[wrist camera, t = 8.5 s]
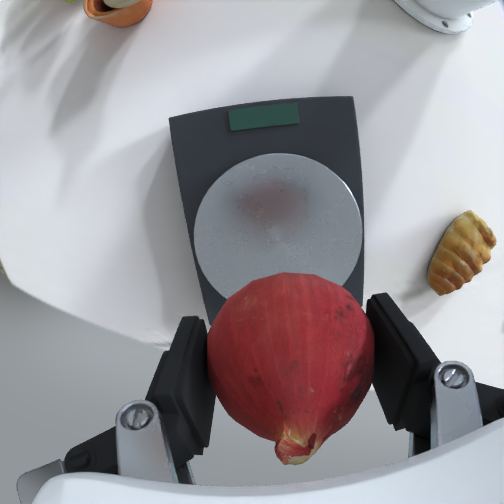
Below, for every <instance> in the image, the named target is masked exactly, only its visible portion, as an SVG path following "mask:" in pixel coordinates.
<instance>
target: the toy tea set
mask: <svg viewBox="0 0 504 504" xmlns="http://www.w3.org/2000/svg"><path fill="white" fill-rule="evenodd" d="M66 1H68V2H73V1H75V0H66ZM151 5H152V0H85V1H84V11H85V13H86V15H87V16H88V17H90V18H92V19H95V20H98V21H101V22H104V23H107V24H110V25H113V26H116V27H128V26H131V25H134V24H136V23H137V22H139V21H140V20H141V19H143V18H144V17H145V16H146V15H147V13H148V12H149V10H150V8H151Z"/></svg>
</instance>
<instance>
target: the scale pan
mask: <svg viewBox="0 0 504 504" xmlns="http://www.w3.org/2000/svg"><path fill="white" fill-rule="evenodd" d="M361 244H362V220H361V216H360V211H359V208H358V206H357V203H356V200H355V199H354V197H353V195H352V193H351V191H350V190H349V188H348V187H347V186H346V184H345V183H344V182H343V181H342V180H341V179H340V178H339V177H338V176H337V175H336V174H335V173H334V172H333V171H331V170H330V169H329V168H327V167H326V166H324V165H322V164H320V163H319V162H317V161H315V160H312V159H309V158H307V157H303V156H299V155H295V154H287V153H271V154H264V155H259V156H255V157H252V158H249V159H246V160H244V161H242V162H240V163H238V164H236V165H235V166H233V167H232V168H230V169H229V170H227V171H226V172H225V173H224V174H222V175H221V176H220V177H219V178H218V179H217V180H216V181H215V182H214V184H213V185H212V186H211V187H210V188H209V190H208V191H207V193H206V195H205V196H204V198H203V200H202V202H201V204H200V206H199V209H198V212H197V216H196V219H195V226H194V246H195V252H196V256H197V259H198V262H199V265H200V267H201V269H202V272H203V273H204V275H205V276H206V278H207V280H208V281H209V282H210V284H211V285H212V286H213V287H214V288H215V289H216V290H217V291H218V292H219V293H220V294H221V295H222V296H223V297H225V298H226V299H228V298H229V297H231V296H232V295H233V294H235V293H236V292H238V291H239V290H240V289H242V288H243V287H244V286H246V285H247V284H249V283H250V282H251V281H253V280H257V279H260V278H264V277H268V276H271V275H275V274H278V273H282V272H288V273H302V274H315V275H317V276H319V277H322V278H324V279H326V280H329V281H331V282H333V283H336V284H338V285H340V286H342V285H343V284H344V283H345V281H346V280H347V279H348V277H349V276H350V274H351V273H352V271H353V269H354V267H355V265H356V263H357V260H358V257H359V254H360V250H361Z"/></svg>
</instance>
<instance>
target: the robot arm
mask: <svg viewBox="0 0 504 504" xmlns="http://www.w3.org/2000/svg"><path fill="white" fill-rule="evenodd" d="M394 1H395V2H396V3H397V4H398V5H399V6H400V7H402V8H403V9H404V10H405V11H406V12H407V13H408V14H410V15H411V16H412V17H414V18H415V19H416V20H418V21H420V22H421V23H423V24H424V25H426V26H428V27H430V28H432V29H434V30H436V31H440V32H443V33H447V34H458V33H461V32H463V31H466V30H467V29H468V28H470V26H471V25H472V22H473V11H475V10H477V9H479V8H482V7H484V6H486V5H489V4H491V3H494V2H496V1H499V0H394ZM366 315H367V317H368V318H369V319H370V322H371V325H372V328H373V331H374V336H375V366H374V377H373V380H372V384H373V386H374V389H375V391H376V394H377V396H378V399H379V401H380V404H381V406H382V409H383V411H384V414H385V417H386V419H387V422H388V423H389V424H393V426H394V429H395V431H397V430H400V429H404V428H406V431H409V432H410V438H409V452H408V458H407V459H404V460H401V461H398V462H395V463H391V464H388V465H385V466H381V467H377V468H374V469H370V470H366V471H362V472H357V473H354V474H349V475H344V476H339V477H333V478H328V479H322V480H316V481H308V482H300V483H292V484H282V485H269V486H268V485H266V486H240V487H239V486H238V487H237V486H234V487H233V486H232V487H231V486H202V485H196V483H195V480H194V476H193V474H192V470H191V467H190V463H189V460H191V459H192V458H193V457H194V455H203V449H204V447H208V446H209V440H210V433H211V426H212V419H213V412H214V405H215V398H216V393H215V392H214V390H213V388H212V385H211V383H210V380H209V378H208V371H207V335H208V334H207V330H206V326H205V322H204V320H203V319H199V317H198V316H186V317H182V319H181V321H180V324H179V327H178V329H177V332H176V334H175V337H174V339H173V342H172V344H171V347H170V350H169V351H165V352H164V353H163V354H162V357H161V359H160V362H159V364H158V367H157V370H156V372H155V375H154V377H153V380H152V382H151V385H150V387H149V390H148V393H147V395H146V398H145V400H135V401H132V402H129V403H127V404H125V405H124V406H123V407H122V408H121V409H120V410H119V411H118V413H117V415H116V420H115V421H116V426H115V427H113V428H111V429H109V430H107V431H105V432H103V433H101V434H99V435H97V436H95V437H93V438H91V439H89V440H87V441H85V442H83V443H81V444H79V445H77V446H75V447H73V448H72V449H70V451H69V452H68V453H67V454H66V457H65V460H64V461H61V460H60V459H58V460H56V461H54V462H51V463H49V464H46V465H44V466H42V467H39V468H37V469H34V470H31V471H29V472H26V473H24V474H22V475H21V476H20V477H19V479H18V481H17V492H18V496H19V499H20V503H21V504H504V389H500V388H496V387H492V386H489V385H485V384H481V383H478V382H475V380H474V376H473V373H472V371H471V369H470V368H469V367H468V366H467V365H465V364H464V363H461V362H458V361H446V362H443V363H441V362H440V361H439V359H438V358H437V356H436V355H435V354H434V352H433V351H432V349H431V348H430V346H429V345H428V344H427V342H426V341H425V339H424V338H423V337H422V335H421V334H420V333H419V331H418V330H417V328H416V327H415V326H414V324H413V323H412V322H409V321H408V320H407V318H406V317H405V316H404V314H403V313H402V312H401V310H400V309H399V308H398V306H397V305H396V304H395V302H394V301H393V300H392V298H391V297H390V296H389V295H388V293H379V294H374V295H372V296H371V299H368V300H367V307H366Z"/></svg>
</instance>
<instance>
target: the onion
mask: <svg viewBox="0 0 504 504" xmlns="http://www.w3.org/2000/svg"><path fill="white" fill-rule="evenodd" d="M374 366H375V336H374V331H373V328H372V325H371V322H370V319H369V318H368V317H367V315H366V314H365V312H364V311H363V309H362V308H361V307H360V305H359V304H358V302H357V301H356V300H355V298H354V297H353V296H352V294H351V293H349V292H348V291H347V290H346V289H345V288H344V287H342V286H340V285H338V284H336V283H333V282H331V281H329V280H326V279H324V278H322V277H319V276H317V275H315V274H302V273H288V272H282V273H278V274H275V275H271V276H268V277H264V278H260V279H257V280H253V281H251V282H250V283H249V284H247V285H246V286H244V287H243V288H242V289H240V290H239V291H238V292H236V293H235V294H233V295H232V296H231V297H229V298H228V299H227V301H226V302H225V304H224V305H223V307H222V309H221V310H220V312H219V313H218V315H217V316H216V318H215V320H214V321H213V323H212V326H211V328H210V330H209V333H208V335H207V371H208V378H209V380H210V383H211V385H212V388H213V390H214V392H215V393H216V395H217V397H218V399H219V401H220V402H221V404H222V406H223V407H224V409H225V410H226V411H227V413H228V414H229V416H231V417H232V418H233V419H234V420H235V421H236V422H238V423H239V424H241V425H242V426H244V427H246V428H247V429H248V430H250V431H251V432H253V433H254V434H256V435H257V436H260V437H262V438H265V439H268V440H271V441H275V442H276V445H275V453H276V455H277V457H278V458H279V459H280V461H281V462H282V463H283V464H284V465H287V464H293V465H298V464H302V463H304V462H306V461H307V460H308V459H309V458H310V457H312V455H314V454H315V453H316V451H317V450H318V449H319V448H320V446H321V445H322V444H323V443H324V441H325V440H326V439H327V438H328V437H330V436H331V435H332V434H334V433H335V432H337V431H339V430H340V429H341V428H342V427H343V426H345V425H346V424H347V423H348V422H349V421H350V420H351V418H352V417H353V416H354V414H355V413H356V411H357V409H358V408H359V406H360V404H361V403H362V401H363V399H364V398H365V396H366V394H367V392H368V390H369V389H370V387H371V384H372V380H373V377H374Z"/></svg>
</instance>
